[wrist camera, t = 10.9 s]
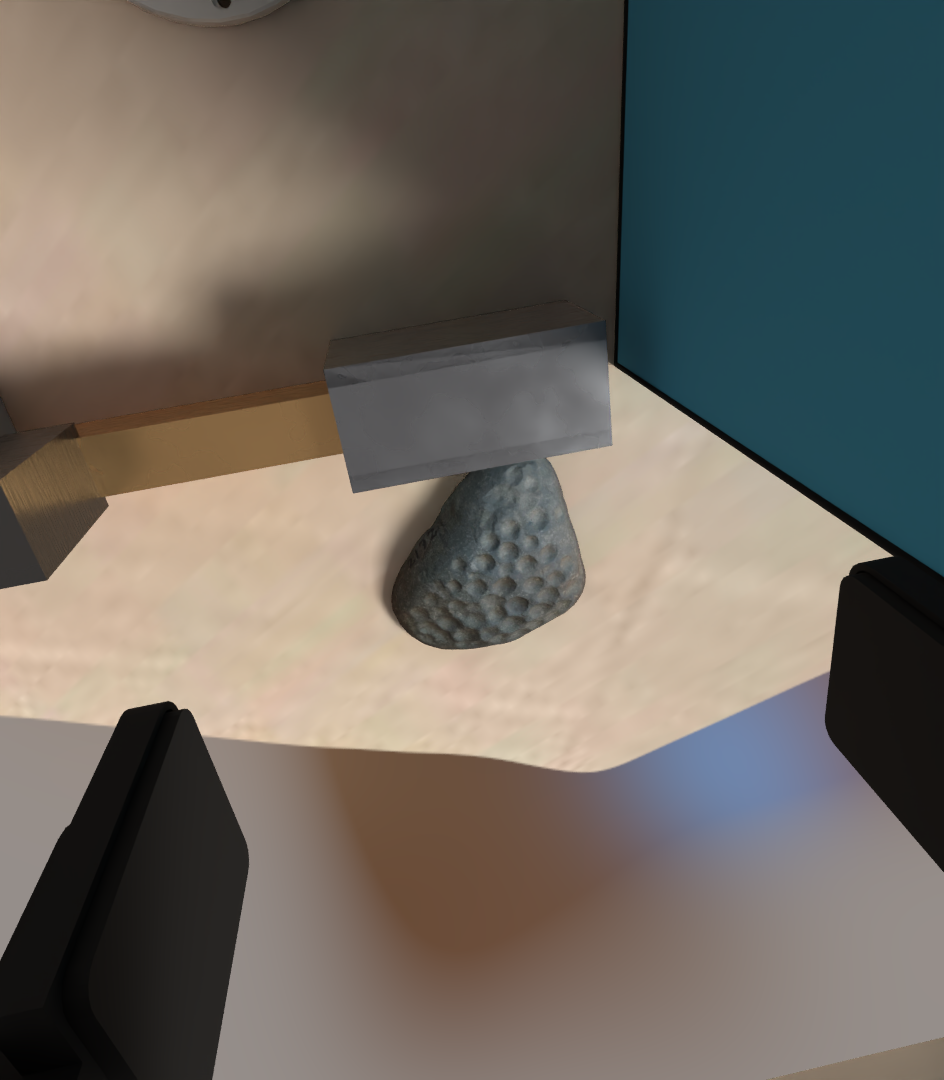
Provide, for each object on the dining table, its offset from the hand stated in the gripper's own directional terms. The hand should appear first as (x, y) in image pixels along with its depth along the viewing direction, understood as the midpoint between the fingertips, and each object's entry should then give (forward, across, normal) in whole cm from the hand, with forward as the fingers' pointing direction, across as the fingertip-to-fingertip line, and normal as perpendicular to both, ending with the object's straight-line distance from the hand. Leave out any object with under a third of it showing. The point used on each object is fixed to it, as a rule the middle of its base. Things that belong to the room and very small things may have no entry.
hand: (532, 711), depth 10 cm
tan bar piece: (+26, +13, +2) cm, 29 cm away
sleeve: (+28, -2, +2) cm, 28 cm away
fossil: (+29, -2, +13) cm, 32 cm away
